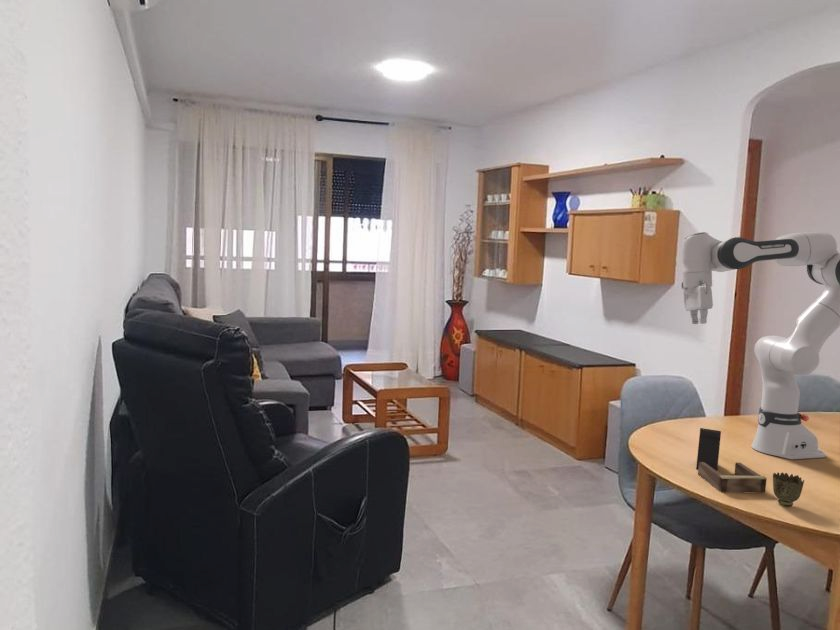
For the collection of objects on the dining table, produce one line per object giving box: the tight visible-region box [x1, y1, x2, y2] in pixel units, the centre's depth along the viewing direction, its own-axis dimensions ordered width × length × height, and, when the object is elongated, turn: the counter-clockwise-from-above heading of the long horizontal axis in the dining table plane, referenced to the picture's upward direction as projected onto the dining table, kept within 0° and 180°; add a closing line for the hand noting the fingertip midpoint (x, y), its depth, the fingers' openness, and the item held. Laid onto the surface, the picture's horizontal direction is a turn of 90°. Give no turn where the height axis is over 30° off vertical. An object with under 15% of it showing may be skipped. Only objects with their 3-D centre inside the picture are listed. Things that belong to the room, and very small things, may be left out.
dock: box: [697, 462, 768, 494], centre depth 193 cm, size 13×14×4 cm
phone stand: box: [695, 427, 722, 472], centre depth 206 cm, size 9×6×12 cm, turn 155°
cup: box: [772, 472, 805, 508], centre depth 178 cm, size 8×7×8 cm
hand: (699, 323), depth 217 cm, fingers open, 8 cm apart
